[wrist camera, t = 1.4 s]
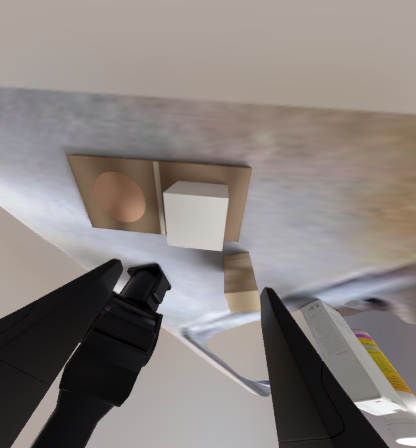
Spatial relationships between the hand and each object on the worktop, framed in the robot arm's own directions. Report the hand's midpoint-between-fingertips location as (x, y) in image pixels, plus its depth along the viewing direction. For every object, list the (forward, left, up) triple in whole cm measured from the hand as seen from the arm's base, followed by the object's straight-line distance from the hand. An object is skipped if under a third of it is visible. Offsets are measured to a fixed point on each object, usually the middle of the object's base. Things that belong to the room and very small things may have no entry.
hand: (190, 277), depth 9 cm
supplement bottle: (+21, -36, -13) cm, 44 cm away
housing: (-1, 0, -12) cm, 12 cm away
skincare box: (+15, -26, -13) cm, 33 cm away
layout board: (-6, +2, -13) cm, 14 cm away
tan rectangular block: (+2, -11, -13) cm, 17 cm away
